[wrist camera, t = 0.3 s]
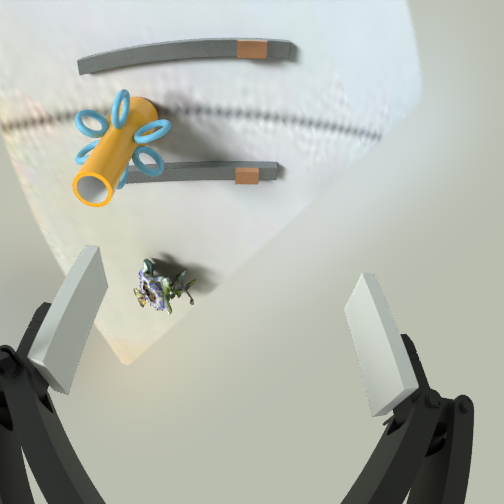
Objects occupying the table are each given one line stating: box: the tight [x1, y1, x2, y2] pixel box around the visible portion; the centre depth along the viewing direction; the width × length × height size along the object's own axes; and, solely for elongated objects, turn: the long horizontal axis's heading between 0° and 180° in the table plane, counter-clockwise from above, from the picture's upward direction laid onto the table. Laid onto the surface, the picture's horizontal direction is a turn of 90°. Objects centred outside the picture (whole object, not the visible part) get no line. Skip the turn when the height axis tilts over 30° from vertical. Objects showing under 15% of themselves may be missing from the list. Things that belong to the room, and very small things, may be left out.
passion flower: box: [134, 259, 196, 316], centre depth 54 cm, size 11×11×12 cm
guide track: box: [77, 38, 290, 184], centre depth 32 cm, size 24×19×2 cm
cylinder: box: [72, 89, 171, 207], centre depth 27 cm, size 12×10×15 cm
